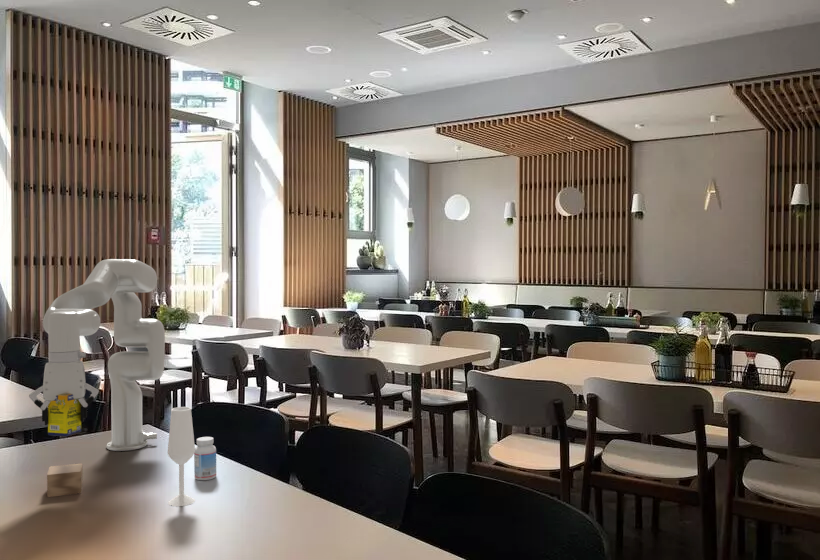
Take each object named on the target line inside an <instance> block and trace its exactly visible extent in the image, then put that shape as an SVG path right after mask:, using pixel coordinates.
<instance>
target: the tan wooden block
mask: <svg viewBox="0 0 820 560" xmlns="http://www.w3.org/2000/svg"><path fill="white" fill-rule="evenodd" d="M83 474H84V473H83V463H81V462H80V463H72V464H71V463H70V464H61V465H51V466H49V467H48V470H47V473H46V482H47V483H46V489H47V490H46V491H47V492H46V494H47V495H46V497H47V498H51V497H58V496H68V495H69V494H70V495H77V493H79V494H82V490H83V485H82V484H83V482H84V481H83V479H84V478H83ZM70 495H69V496H70Z"/></svg>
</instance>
